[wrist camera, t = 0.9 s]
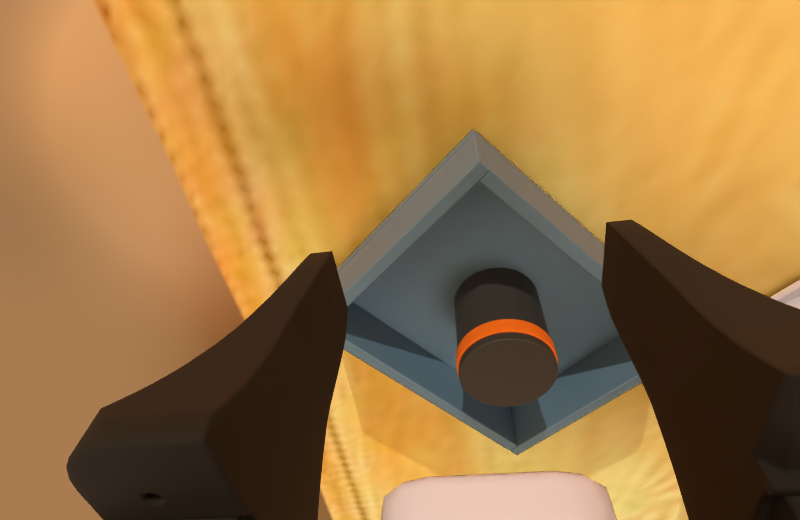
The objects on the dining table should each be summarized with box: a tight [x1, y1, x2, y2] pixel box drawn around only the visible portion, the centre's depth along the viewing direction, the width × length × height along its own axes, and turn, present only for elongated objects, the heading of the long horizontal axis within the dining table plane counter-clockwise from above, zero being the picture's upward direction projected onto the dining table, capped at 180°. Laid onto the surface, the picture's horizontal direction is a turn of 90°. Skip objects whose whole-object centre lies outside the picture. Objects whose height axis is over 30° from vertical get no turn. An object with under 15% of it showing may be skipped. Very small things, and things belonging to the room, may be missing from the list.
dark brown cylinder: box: [454, 268, 558, 407], centre depth 24 cm, size 4×4×5 cm
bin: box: [337, 129, 642, 455], centre depth 25 cm, size 14×11×3 cm
